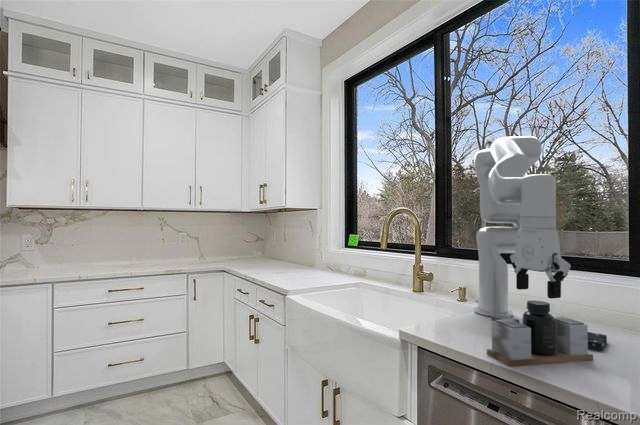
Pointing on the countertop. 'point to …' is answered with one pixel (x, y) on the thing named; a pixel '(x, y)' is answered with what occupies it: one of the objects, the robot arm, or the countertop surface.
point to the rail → (516, 343)
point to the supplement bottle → (540, 327)
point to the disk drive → (596, 341)
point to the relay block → (500, 317)
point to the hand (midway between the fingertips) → (537, 293)
